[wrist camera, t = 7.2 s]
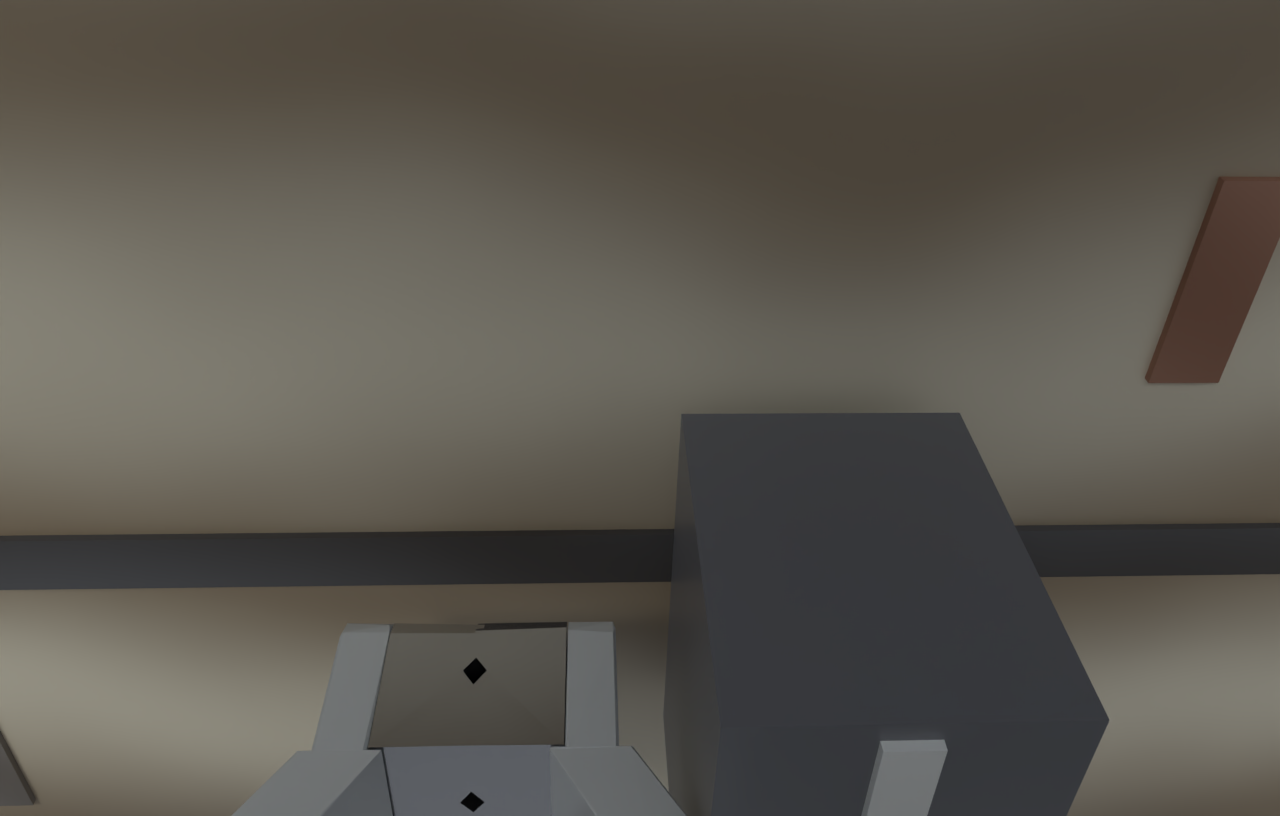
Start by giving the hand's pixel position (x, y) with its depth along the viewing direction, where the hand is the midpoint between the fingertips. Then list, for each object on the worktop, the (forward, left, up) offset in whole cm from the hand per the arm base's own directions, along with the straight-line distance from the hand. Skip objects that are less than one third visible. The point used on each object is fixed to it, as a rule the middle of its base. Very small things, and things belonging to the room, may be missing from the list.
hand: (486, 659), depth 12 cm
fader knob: (0, +4, -1) cm, 4 cm away
